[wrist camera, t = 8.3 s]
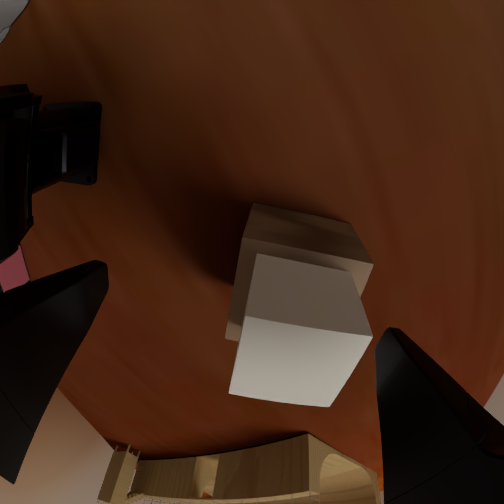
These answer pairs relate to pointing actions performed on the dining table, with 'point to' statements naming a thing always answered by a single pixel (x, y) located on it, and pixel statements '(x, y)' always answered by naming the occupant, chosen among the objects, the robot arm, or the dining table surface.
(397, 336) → the robot arm
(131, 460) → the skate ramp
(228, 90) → the dining table surface
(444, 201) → the dining table surface
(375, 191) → the dining table surface
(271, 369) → the cream block
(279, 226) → the walnut block
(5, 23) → the tall pale column
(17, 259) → the puzzle cube
